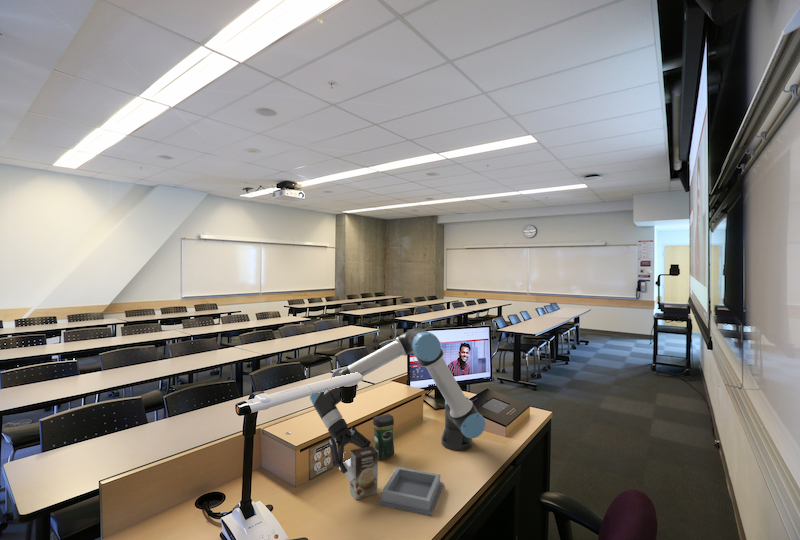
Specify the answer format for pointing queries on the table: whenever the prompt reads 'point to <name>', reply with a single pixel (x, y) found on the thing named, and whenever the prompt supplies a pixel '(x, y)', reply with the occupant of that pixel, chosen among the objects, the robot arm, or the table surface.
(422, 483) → the dock tray
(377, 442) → the coffee jar
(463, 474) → the table surface
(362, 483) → the coffee box
